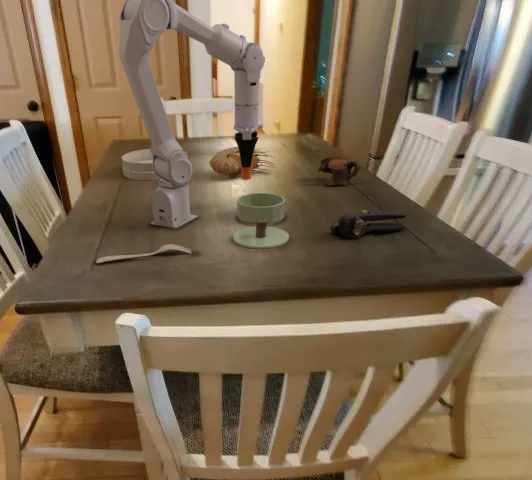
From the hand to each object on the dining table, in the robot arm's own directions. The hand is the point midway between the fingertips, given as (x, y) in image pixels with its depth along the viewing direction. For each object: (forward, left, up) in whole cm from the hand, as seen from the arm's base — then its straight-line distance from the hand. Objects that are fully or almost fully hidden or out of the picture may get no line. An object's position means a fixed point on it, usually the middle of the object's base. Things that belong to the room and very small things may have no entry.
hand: (246, 165), depth 118 cm
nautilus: (+27, +16, -10) cm, 33 cm away
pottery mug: (+31, -14, -10) cm, 35 cm away
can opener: (-6, -35, -10) cm, 37 cm away
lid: (-21, -15, -9) cm, 27 cm away
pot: (-7, -8, -10) cm, 15 cm away
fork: (-40, +2, -10) cm, 42 cm away
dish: (+19, +45, -10) cm, 49 cm away
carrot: (0, 0, -3) cm, 3 cm away
